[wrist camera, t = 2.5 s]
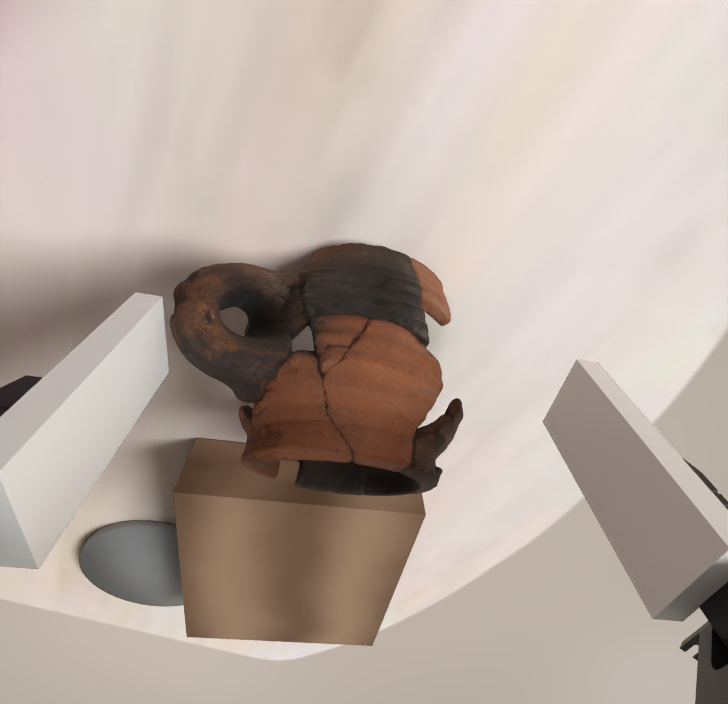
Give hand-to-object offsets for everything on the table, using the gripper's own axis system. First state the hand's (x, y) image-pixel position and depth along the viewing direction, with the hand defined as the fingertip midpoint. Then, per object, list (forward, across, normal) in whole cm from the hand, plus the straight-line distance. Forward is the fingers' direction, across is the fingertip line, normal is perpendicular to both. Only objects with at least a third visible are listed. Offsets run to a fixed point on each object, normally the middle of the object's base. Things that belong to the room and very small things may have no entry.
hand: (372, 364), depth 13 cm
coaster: (+5, -10, -22) cm, 25 cm away
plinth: (+5, -2, -17) cm, 17 cm away
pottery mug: (+6, -2, 0) cm, 7 cm away
